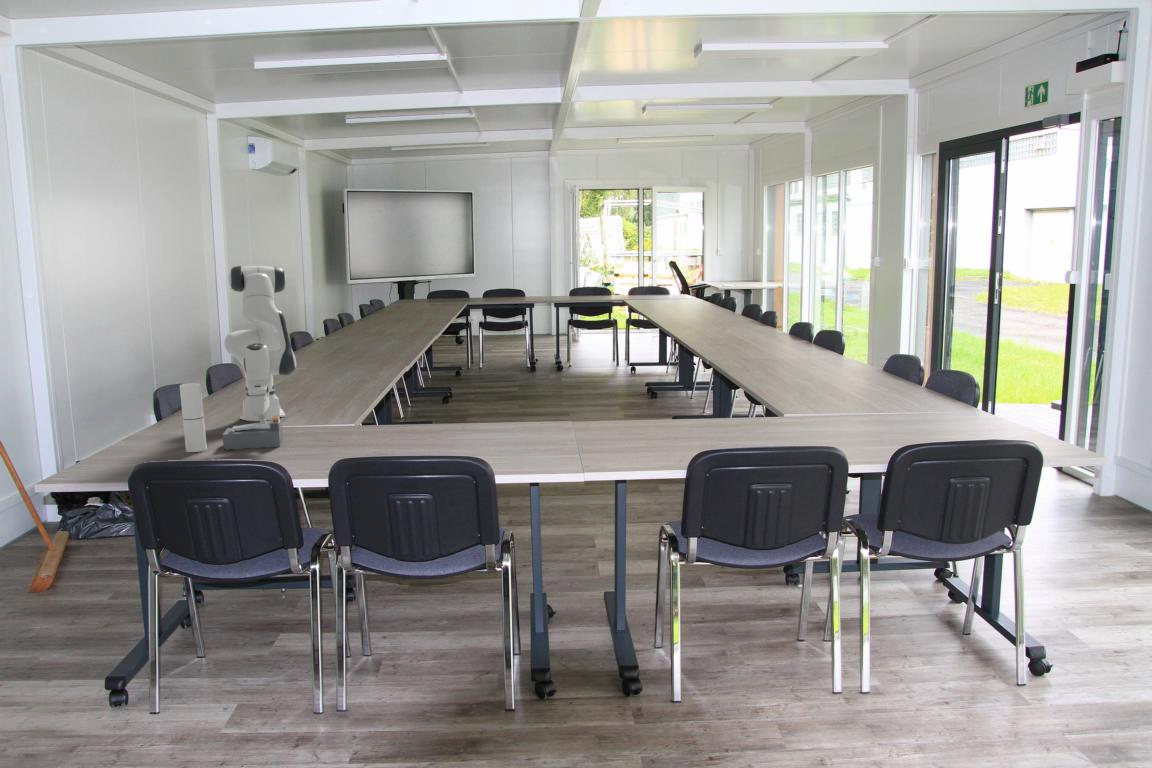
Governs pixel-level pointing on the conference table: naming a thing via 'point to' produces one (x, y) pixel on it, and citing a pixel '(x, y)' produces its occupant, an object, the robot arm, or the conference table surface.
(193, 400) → the cylindrical container
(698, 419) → the conference table surface
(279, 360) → the robot arm
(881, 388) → the conference table surface
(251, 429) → the clamp block
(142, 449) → the conference table surface
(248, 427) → the lever
